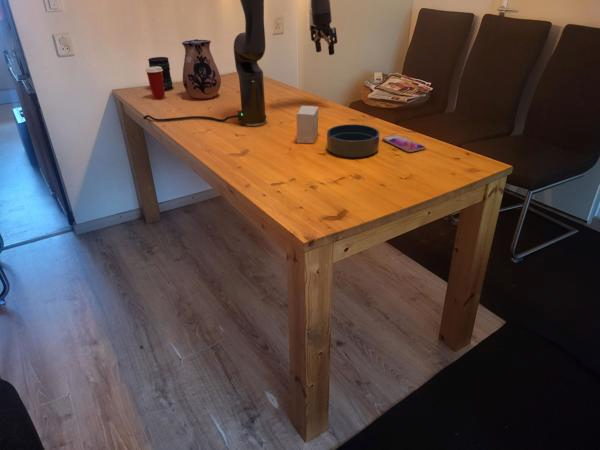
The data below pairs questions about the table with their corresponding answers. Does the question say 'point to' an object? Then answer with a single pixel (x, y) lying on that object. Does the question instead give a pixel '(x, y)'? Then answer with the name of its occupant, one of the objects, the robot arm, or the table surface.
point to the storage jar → (165, 67)
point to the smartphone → (403, 143)
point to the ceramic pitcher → (200, 70)
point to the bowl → (353, 140)
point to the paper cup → (156, 82)
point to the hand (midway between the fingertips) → (325, 53)
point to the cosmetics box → (307, 124)
